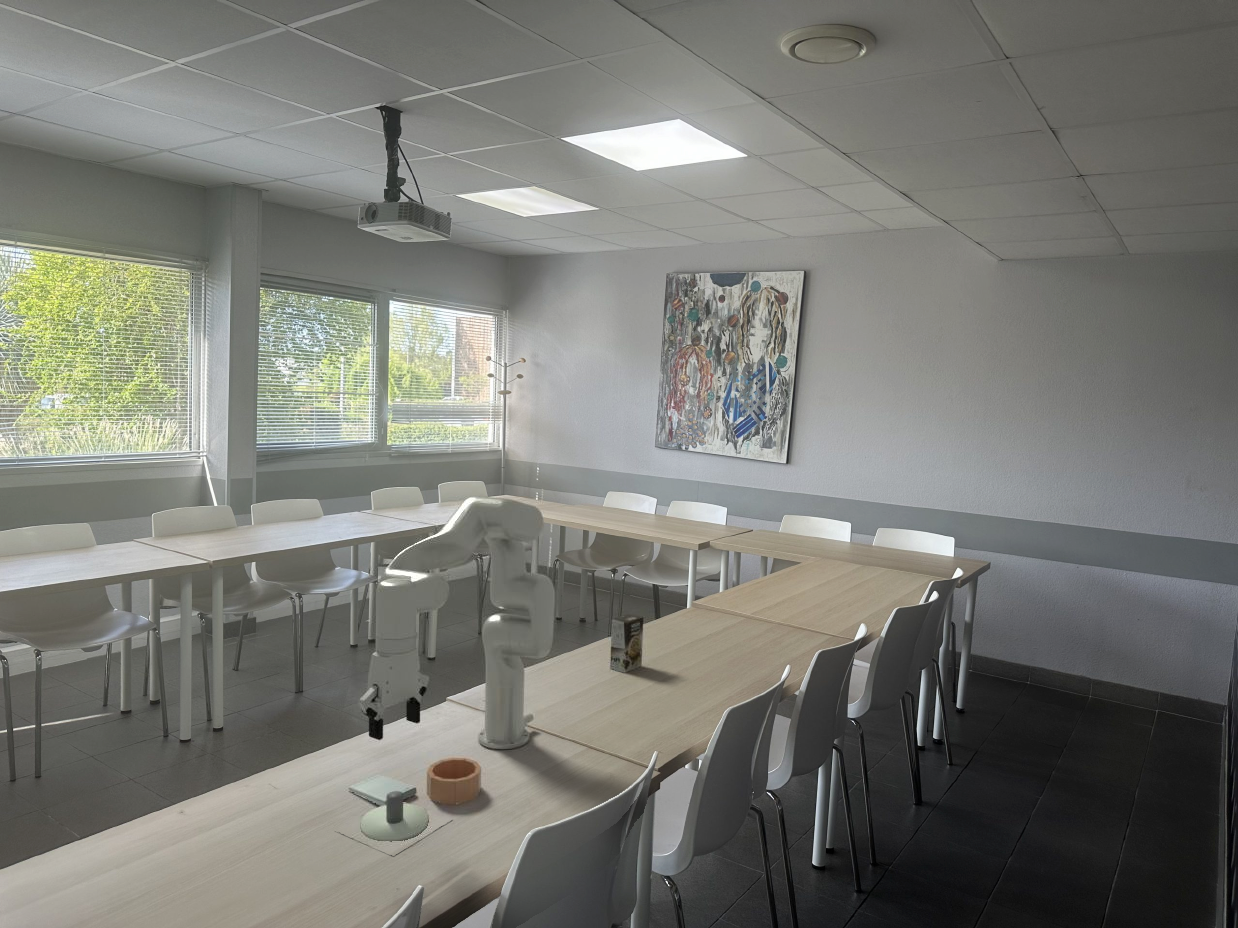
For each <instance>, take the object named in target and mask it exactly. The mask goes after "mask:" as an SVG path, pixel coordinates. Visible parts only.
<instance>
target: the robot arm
mask: <svg viewBox="0 0 1238 928" xmlns="http://www.w3.org/2000/svg"><path fill="white" fill-rule="evenodd" d="M543 529H544V517H543V514H542V512H541V510H540V508H538V507H536V506H535V505H533V504H532V505H531V504H528V503H524V502H522V501H518V500H515V499H512V498H511V499H510V498H502V497H493V496H492V497H491V496H481V495H479V496H476V495H475V496H471V497H468V498H467V499H465V500H463V502H462V503H461V504H460V505H459V506H458V508H457V509H456V510H455V511H454V512H453V514H452V515H451V516H450V518H449V519H448V520H447V521H446V523H445V524H444V525H443V526H442V527H441V529H440V530H439V531H438V532H437V533H435V534H434V535H431V536H429V537H427V538H424V539H422V540H421V541H418V542H417V543H414V544H412V545H411V546H408V547H406V548H405V549H404V550H401V552H399V553H398V554H397V555H396V556H395V557H394V559H392V561H391V562H390V563H389V564H388V565H387V566H386V568H385V570H384V571H383V573H382V574H381V576H380V578H379V581H378V583H377V587H376V591H375V592H376V594H375V598H376V599H375V652H373V653H372V654H371V659H370V662H369V670H368V676H367V690H366V692H365V693H364V694H363V695H362V696H361V697H360V698H359V699H358V702H357V703H358V706H359V707H360V709H361V713H362V714H364V715H365V716H366V718H368V736H369V738H372V739H375V740H378V741H381V740H383V738H384V719H383V718H381V717H382V716H383V714H384V713H385V710H386V708H388V707H392V706H394V705H397V704H399V703H402V702H405V701H406V708H405V709H406V710H405V711H406V714H405V716H406V718H405V719H406V721H408V722H410V723H414V724H420V723H421V703H422V702H423V701H424V695H425V693H426V692H427V686H428V684H429V681H430V677H429V675H425V674H423V673H421V663H420V656H419V650H418V647H417V639H418V637H419V634H418V632H417V615H418V614H421V613H428V612H433V611H434V612H435V611H436V610H438V609H440V608H442V607H443V606H444V605H445V604H446V602H447V601H448V598H449V596H450V585H449V583H448V581H447V579H446V578H445V577H443V576H442V575H440V574H437V573H432V572H428V571H432V570H436V569H441V568H447V567H448V568H449V567H451V566H455V565H458V564H462V563H464V562H465V561H467V560H468V559H469V558H470V557H471V556H472V554H473V553H474V552H475V550H476V549H477V547H478V546H479V544H481V542H482V540H483V539H484V540H485V542H486V543H487V545H488V548H489V552H490V579H489V583H490V584H489V592H490V593H489V595H490V596H489V597H490V598H489V599H490V602H491V604H492V605H493V606H494V607H496V608H498V609H502V610H509V611H514V612H522V613H528V614H529V616H525V615H524V616H523V615H520V614H511V613H495V614H493V615H490V616H488V618H486V620H485V621H484V623H483V626H482V631H481V633H482V634H481V636H482V643H483V645H482V646H483V650H484V659H485V685H484V686H485V687H484V689H485V692H484V696H485V697H484V698H485V699H484V729H481V731H480V732H479V733H478V736H477V740H478V742H479V744H481V746H484V747H486V748H489V749H493V750H511V749H516V748H520V747H521V746H523V745H525V744H527V743H528V742H529V741H530V733H529V731H528V730H527V729H526V726H527V724H528V723H531V722H533V720H534V715H533V714H532V713H528V714H526V715H524V712H525V711H524V709H525V707H524V705H525V668H524V664H523V661H522V659H521V657H527V658H533V659H541V658H542V659H543V658H545V657H546V656H547V655H549V653H550V651H551V649H552V647H553V641H554V623H555V622H554V621H555V599H556V598H555V587H554V584H553V581H552V579H550V577H549V576H547V575H545V574H543V573H536V572H528V571H527V567H526V562H527V558H526V555H527V554H526V547H525V545H524V543H525V542H526V543H527V542H528V543H530V542H533V541H536V540H537V539H538V538H539V537H540V536H541V534H542V532H543ZM523 542H524V543H523ZM377 707H378V708H377Z"/></svg>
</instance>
